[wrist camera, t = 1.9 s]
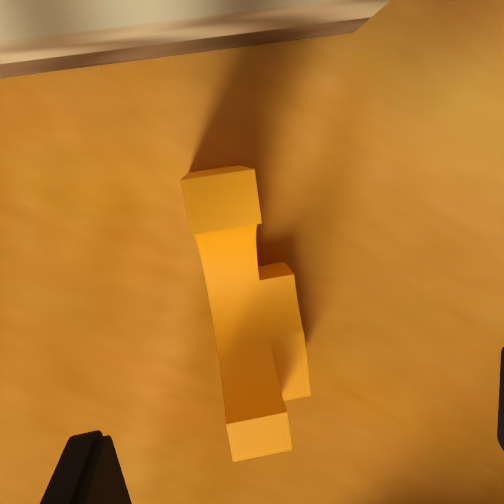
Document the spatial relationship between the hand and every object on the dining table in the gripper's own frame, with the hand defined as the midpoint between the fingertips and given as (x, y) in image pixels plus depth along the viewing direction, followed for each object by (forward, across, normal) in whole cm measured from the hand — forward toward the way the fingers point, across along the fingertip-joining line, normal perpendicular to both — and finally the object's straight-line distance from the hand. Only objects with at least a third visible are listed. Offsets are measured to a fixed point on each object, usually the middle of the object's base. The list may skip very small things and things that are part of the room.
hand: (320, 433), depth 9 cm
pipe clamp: (+13, 0, 0) cm, 13 cm away
